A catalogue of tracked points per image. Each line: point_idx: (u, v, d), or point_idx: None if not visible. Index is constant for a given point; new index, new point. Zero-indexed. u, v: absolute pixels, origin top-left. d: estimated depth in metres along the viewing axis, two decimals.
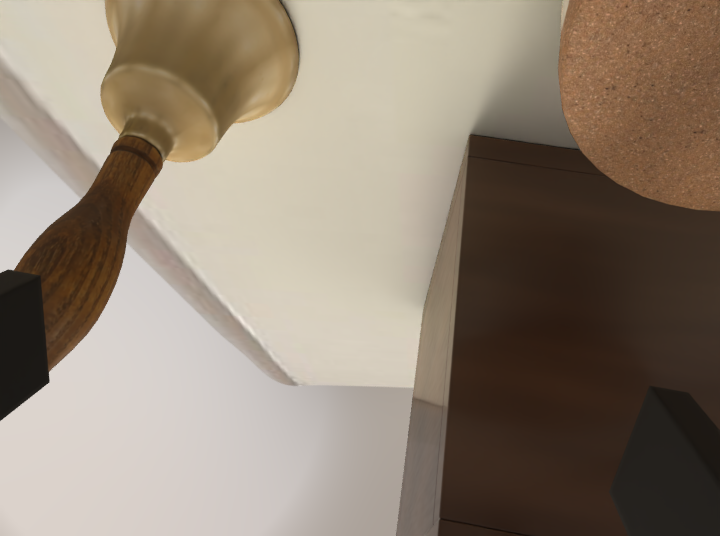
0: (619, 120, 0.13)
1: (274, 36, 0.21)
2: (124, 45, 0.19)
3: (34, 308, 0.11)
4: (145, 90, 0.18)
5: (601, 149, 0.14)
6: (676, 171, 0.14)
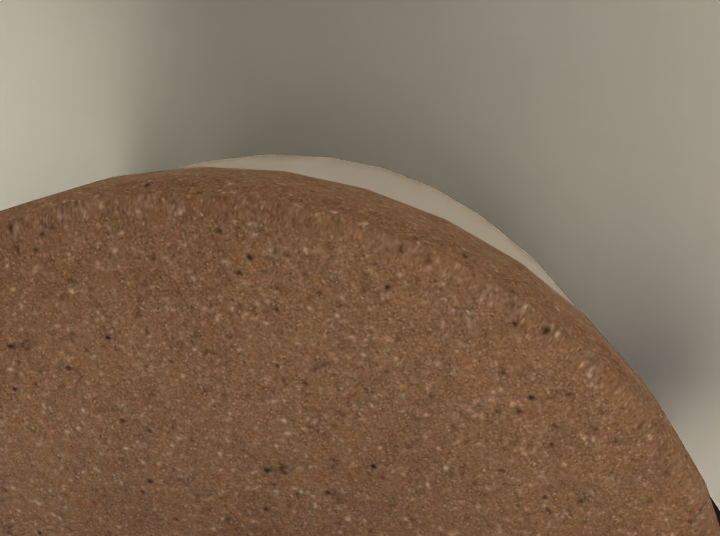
0: None
1: None
2: None
3: None
4: None
5: None
6: None
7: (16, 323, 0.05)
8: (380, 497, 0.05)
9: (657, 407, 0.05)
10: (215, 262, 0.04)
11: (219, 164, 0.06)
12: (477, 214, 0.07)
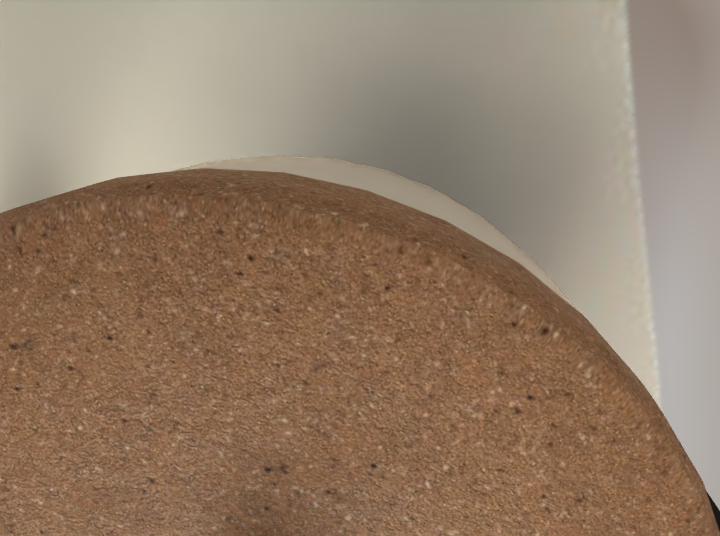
0: None
1: None
2: None
3: None
4: None
5: None
6: None
7: (18, 323, 0.05)
8: (380, 496, 0.05)
9: (655, 407, 0.05)
10: (216, 263, 0.04)
11: (220, 165, 0.06)
12: (477, 215, 0.07)
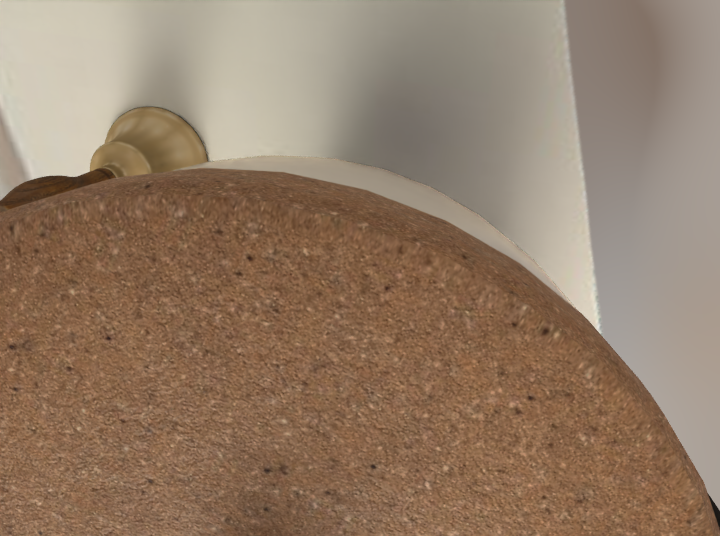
0: None
1: (195, 156, 0.39)
2: None
3: None
4: (118, 152, 0.35)
5: None
6: None
7: (17, 324, 0.05)
8: (380, 497, 0.05)
9: (656, 407, 0.05)
10: (216, 263, 0.04)
11: (219, 165, 0.06)
12: (477, 215, 0.07)
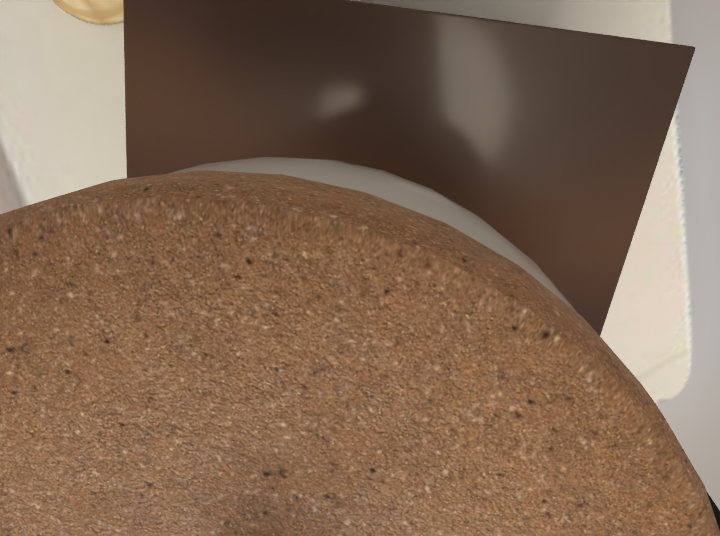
0: None
1: None
2: None
3: None
4: None
5: None
6: None
7: (15, 327, 0.05)
8: (379, 501, 0.05)
9: (657, 411, 0.05)
10: (214, 265, 0.04)
11: (218, 167, 0.06)
12: (477, 216, 0.07)
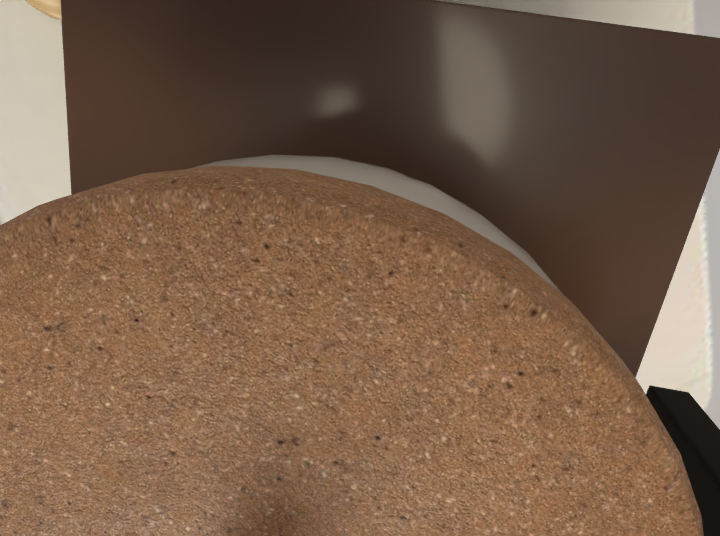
0: None
1: None
2: None
3: None
4: None
5: None
6: None
7: (52, 307, 0.05)
8: (383, 467, 0.05)
9: (635, 383, 0.05)
10: (235, 250, 0.05)
11: (234, 163, 0.07)
12: (474, 210, 0.08)
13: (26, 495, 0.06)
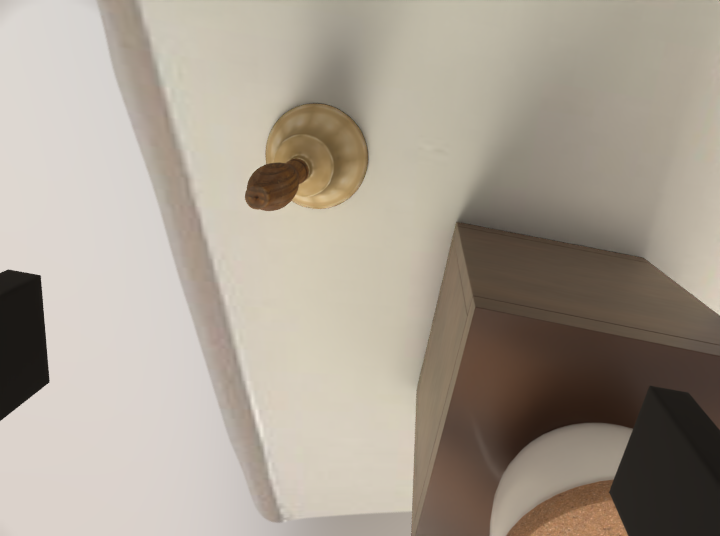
0: None
1: (359, 151, 0.41)
2: (293, 133, 0.38)
3: (34, 308, 0.11)
4: (306, 144, 0.36)
5: None
6: None
7: (608, 523, 0.19)
8: None
9: None
10: None
11: None
12: None
13: None
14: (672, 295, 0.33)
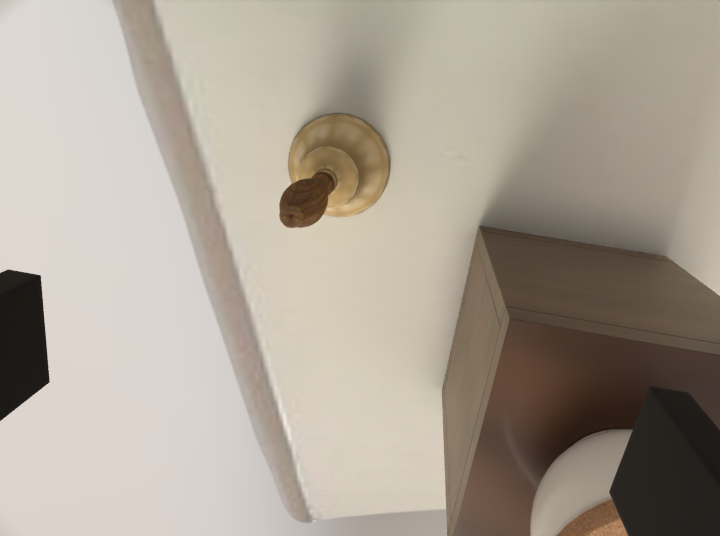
0: None
1: (381, 160, 0.41)
2: (317, 145, 0.38)
3: (34, 309, 0.11)
4: (331, 157, 0.37)
5: None
6: None
7: None
8: None
9: None
10: None
11: None
12: None
13: None
14: (699, 297, 0.33)
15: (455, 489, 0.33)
